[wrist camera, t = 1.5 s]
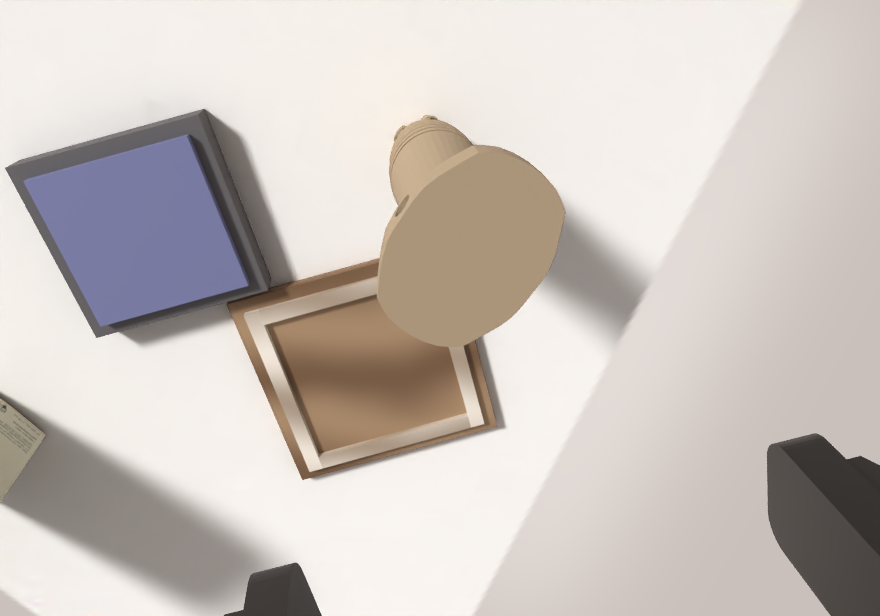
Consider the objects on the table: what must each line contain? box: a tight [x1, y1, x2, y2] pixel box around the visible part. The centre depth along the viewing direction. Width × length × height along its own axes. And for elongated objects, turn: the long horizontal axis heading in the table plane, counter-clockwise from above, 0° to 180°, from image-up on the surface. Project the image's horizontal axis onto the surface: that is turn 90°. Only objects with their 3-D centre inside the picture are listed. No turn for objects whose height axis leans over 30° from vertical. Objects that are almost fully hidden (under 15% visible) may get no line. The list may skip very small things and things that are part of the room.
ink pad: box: [5, 109, 271, 338], centre depth 34 cm, size 9×9×2 cm
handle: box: [376, 115, 565, 347], centre depth 28 cm, size 5×6×15 cm
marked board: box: [227, 258, 497, 480], centre depth 39 cm, size 12×12×1 cm
